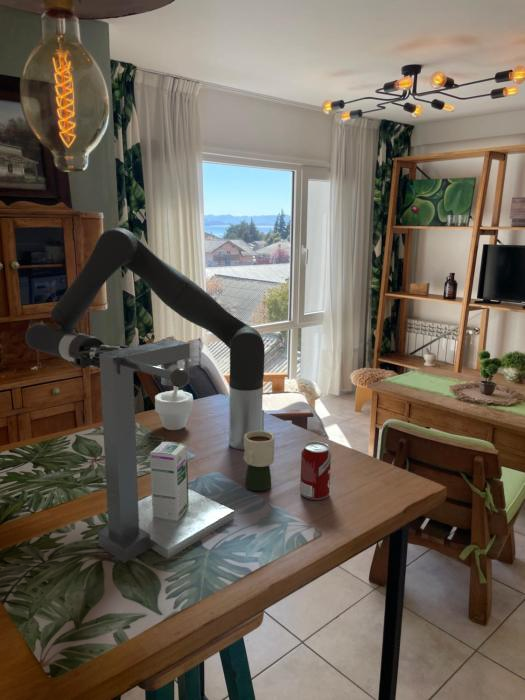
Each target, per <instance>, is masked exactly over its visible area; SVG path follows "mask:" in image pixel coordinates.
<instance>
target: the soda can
mask: <svg viewBox="0 0 525 700" xmlns="http://www.w3.org/2000/svg"><path fill="white" fill-rule="evenodd" d="M329 449H330V446H329V445H328V444H327V443H324V442H321V441H309V442H307V443H305V444H304V449H303V450H302V451H301V455H300V456H301V457H300V458H301V461H300V481H299V483H300V484H299V493H300V495H302V496H303V497H305V498H307V499H309V500H313V501H314V500H315V501H319V500H323V499H326V498H328V496H329V495H330V486H331V484H330V483H331V472H332V471H331V469H332V466H331V465H332V452H331V451H330V450H329Z"/></svg>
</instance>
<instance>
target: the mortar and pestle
mask: <svg viewBox="0 0 525 700" xmlns="http://www.w3.org/2000/svg"><path fill="white" fill-rule="evenodd" d="M192 361H193V359H191V358H188V362H189V363H191V362H192ZM185 364H186V362H185V359H183V360H179V361H178V368H182V369H185ZM156 367H159V368H161V365H158V366H156ZM154 408H155V410H154V411H155V413H158V416H159V418H160V420H161V423H162V425H163V428H165V429H166V430H169V431H179V430H182V429H183V428H185V427H186V426H187V421H188V419H189V416H190V414H191V413H190V412H192V411H193V410H194V396H193V394H192V393H190V392H187V391H184V390H183V389H179V388H178V387H175V386H174V385H173V390H169V391H164V392H159V393H158V394H156V395H155V396H154Z"/></svg>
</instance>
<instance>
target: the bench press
mask: <svg viewBox="0 0 525 700" xmlns="http://www.w3.org/2000/svg"><path fill="white" fill-rule="evenodd" d="M190 345H191V344H190V342H187V341H182V340H177V339H173V338H171V339H167V340H161V341H155V342H152V343H151V342H149V343H146V344H140V345H135V346H131V347H129V348H124V349H119V350H114V351H109V352H103V353H102V354H99V358H100V368H99V371H100V372H99V373H100V375H99V376H100V377H99V378H100V392H101V393H100V394H101V409H102V411H101V412H102V429H103V431H102V432H103V448H104V449H103V450H104V452H103V453H104V466H105V467H104V469H105V483H106V484H105V485H106V486H105V487H106V504H107V522H108V524H107V525H108V526H107V527H105V528H104V529H103V528H102V529H101V530H99V531H98V532H97V534H98V538H97V539H98V546H99V547H100V548H101V549H103V550H104V551H106V552H108V553H109V554H110V555H112V556H113V557H115V558H116V559H118V561H120V562H121V563H123V564H126V563H127V562H130V561H131V560H133V559H134V558H136V557H138V556H140V555H141V554H143V553H145V552H147V551H149V550H153V551H154V552H155V553H157V552H158V554H159V555H161V556H162V557H164V558H166V559H167V560H168V559H169V560H170V559H171V558H172V557H174V556H175V555H177V554H179V553H181V552H182V551H184V550H185V549H187V548H189V547H190V546H191V545H194V544H195V543H197V542H198V541H201V540H202V539H203V538H205V537H206V536H207V537H208V535H210V534H212V533H213V532H215V531H216V529H217V530H218V529H220V528H221V526H222V527H223V526H225V525H226V524H228V523H230V522H231V521H233V520H234V519H235V510H234V509H232V508H230V507H227V506H225V505H223V504H221V503H220V502H217V501H215V500H213V499H211V498H209V497H206V496H204V495H202V494H201V493H198V492H196V491H194V490H192V489H190V488H188V496H189V507H188V508H187V510H186V511H185V512H184V514H183V515H182V516H181V517H180V518H179V520H178V521H174V520H168V519H162V518H157V517H153V509H152V494H150V495H149V496H147V497H144V498H142V499H140V500H139V493H138V488H139V487H138V467H137V466H138V464H137V463H138V462H137V440H136V439H137V437H136V414H135V408H136V407H135V390H134V389H135V388H134V387H135V384H134V372H137V371H139V372H142V373H146V374H149V375H153V376H157V377H160V378H161V381H160V382H161V385H163V386H167V387H171V386H172V387H174V386H175V387H178V389H179V388H184V387H186V386H187V385H188V384H189V383H190V377H191V376H190V373H189V372H188V370H187V369H185V368H184V369H182V368H178V361H179V360H183V359H184V360H186V359H188V360H189V359H191V355H190V354H191V353H190V350H191V349H190ZM158 365H161V368H159V367H156V366H158ZM233 518H234V519H233ZM232 519H233V520H232ZM230 520H231V521H230ZM229 521H230V522H229ZM227 522H228V523H227ZM224 524H225V525H224ZM219 527H220V528H219ZM211 532H212V533H211ZM201 538H202V539H201ZM188 546H189V547H188ZM186 547H187V548H186ZM148 549H149V550H148ZM183 549H184V550H183Z"/></svg>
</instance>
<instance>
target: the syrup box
mask: <svg viewBox="0 0 525 700" xmlns="http://www.w3.org/2000/svg"><path fill="white" fill-rule="evenodd" d="M149 462H150V463H149V464H150V484H151V487H150V488H151V495H152V509H153V517H157V518H162V519H168V520H174V521H178V520H179V518H180V517H181V516H182V515H183V514H184V512H185V511H186V510H187V508H188V507H189V496H188V489H189V471H188V470H189V469H188V468H189V467H188V445H187V444H185V443H180V442H175V441H162V442H161V443H160V444H159V445H158V446H156V447H155V448H154V449H152V450H151V451H150V452H149Z"/></svg>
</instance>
